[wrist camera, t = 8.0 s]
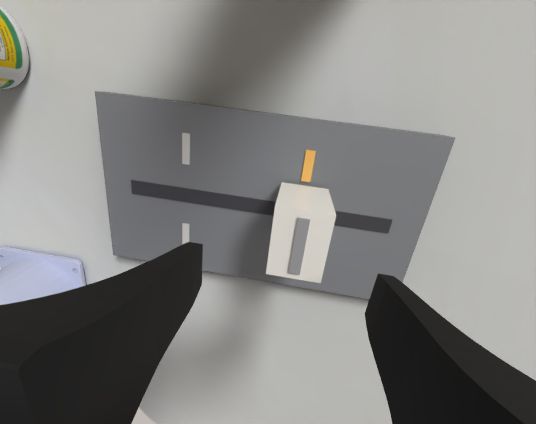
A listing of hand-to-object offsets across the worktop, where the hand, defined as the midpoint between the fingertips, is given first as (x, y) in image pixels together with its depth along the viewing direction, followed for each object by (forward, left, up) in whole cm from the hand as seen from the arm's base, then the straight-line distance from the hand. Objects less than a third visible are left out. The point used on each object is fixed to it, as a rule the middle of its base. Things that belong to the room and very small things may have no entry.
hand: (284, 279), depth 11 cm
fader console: (0, +2, -9) cm, 10 cm away
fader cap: (0, -1, -8) cm, 8 cm away
